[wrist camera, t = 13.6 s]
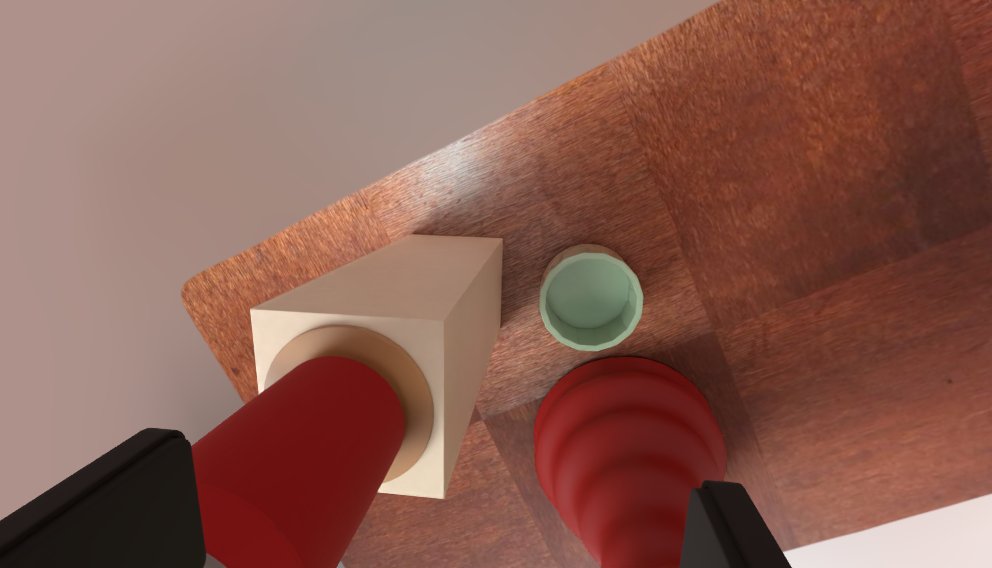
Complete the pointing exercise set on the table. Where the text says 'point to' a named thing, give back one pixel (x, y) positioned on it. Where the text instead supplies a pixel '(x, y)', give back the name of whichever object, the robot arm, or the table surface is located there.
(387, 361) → the cork pad
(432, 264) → the block
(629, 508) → the table lamp
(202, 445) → the beverage can
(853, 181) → the table surface
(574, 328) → the can holder
